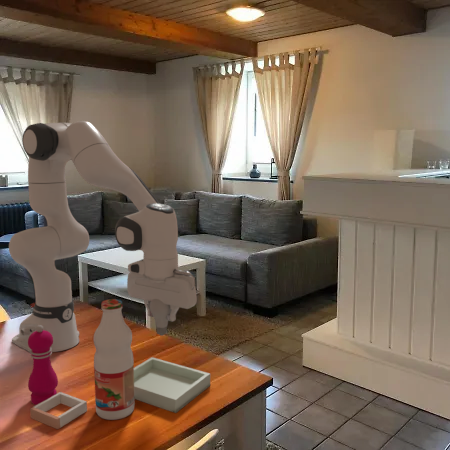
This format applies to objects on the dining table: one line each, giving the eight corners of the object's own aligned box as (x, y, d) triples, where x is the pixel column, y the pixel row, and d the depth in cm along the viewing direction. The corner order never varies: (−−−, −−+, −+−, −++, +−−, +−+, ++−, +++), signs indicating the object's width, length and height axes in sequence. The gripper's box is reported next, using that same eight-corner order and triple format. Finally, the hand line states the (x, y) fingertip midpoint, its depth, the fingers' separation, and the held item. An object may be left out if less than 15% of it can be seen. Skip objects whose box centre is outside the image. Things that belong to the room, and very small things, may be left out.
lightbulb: (146, 338, 128) (146, 297, 126) (154, 330, 134) (154, 290, 132) (169, 340, 127) (168, 299, 125) (176, 332, 133) (176, 292, 131)
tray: (114, 392, 131) (113, 379, 131) (152, 368, 145) (152, 357, 144) (175, 413, 121) (175, 399, 121) (210, 385, 135) (210, 373, 134)
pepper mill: (35, 391, 131) (31, 319, 128) (62, 392, 131) (59, 320, 128) (24, 406, 124) (19, 330, 121) (52, 406, 124) (48, 331, 120)
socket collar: (30, 418, 119) (30, 408, 118) (60, 400, 127) (60, 391, 126) (57, 429, 114) (57, 419, 114) (87, 410, 122) (86, 401, 122)
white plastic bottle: (141, 412, 122) (139, 303, 117) (106, 425, 116) (102, 311, 111) (123, 396, 129) (120, 293, 124) (89, 408, 123) (84, 300, 118)
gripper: (201, 269, 125) (201, 321, 127) (138, 259, 135) (139, 308, 137) (187, 275, 120) (187, 329, 122) (122, 264, 130) (124, 314, 132)
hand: (161, 318), depth 130 cm, fingers closed on lightbulb, 5 cm apart
